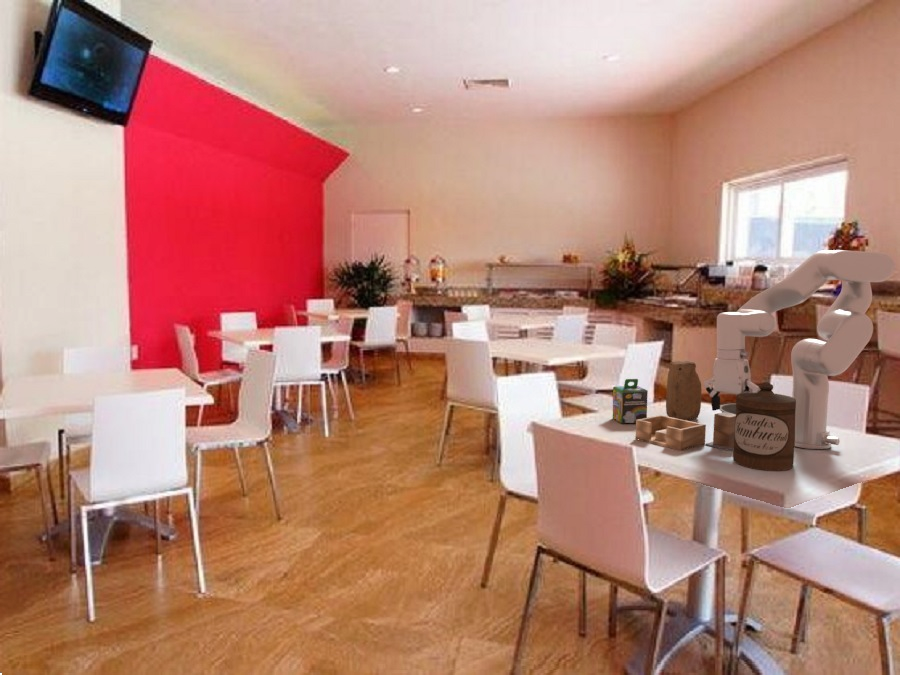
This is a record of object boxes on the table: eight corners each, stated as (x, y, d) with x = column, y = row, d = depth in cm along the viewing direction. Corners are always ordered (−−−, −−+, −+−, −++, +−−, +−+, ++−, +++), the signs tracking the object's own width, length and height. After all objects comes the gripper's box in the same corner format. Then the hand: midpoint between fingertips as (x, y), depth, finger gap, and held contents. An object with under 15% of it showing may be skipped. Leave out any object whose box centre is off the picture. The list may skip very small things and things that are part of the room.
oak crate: (704, 444, 203) (705, 424, 202) (680, 450, 196) (681, 430, 195) (659, 433, 216) (660, 415, 215) (635, 439, 209) (636, 419, 208)
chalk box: (636, 417, 239) (638, 376, 237) (647, 423, 230) (649, 380, 228) (611, 418, 238) (612, 376, 236) (621, 424, 229) (622, 380, 227)
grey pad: (745, 446, 201) (745, 445, 201) (730, 450, 196) (730, 449, 196) (720, 441, 207) (720, 439, 207) (705, 445, 202) (705, 443, 202)
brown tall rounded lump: (672, 420, 234) (674, 363, 232) (663, 416, 242) (665, 360, 240) (702, 420, 235) (705, 363, 233) (693, 415, 243) (695, 360, 241)
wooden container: (726, 464, 183) (730, 383, 180) (741, 452, 194) (745, 376, 192) (786, 474, 174) (791, 389, 171) (798, 462, 185) (803, 382, 183)
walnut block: (738, 445, 201) (739, 415, 200) (728, 447, 198) (730, 417, 197) (722, 441, 205) (723, 412, 204) (713, 444, 202) (714, 414, 201)
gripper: (766, 355, 194) (766, 414, 196) (711, 351, 208) (711, 406, 210) (751, 358, 190) (751, 419, 191) (697, 353, 204) (697, 410, 205)
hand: (730, 412), depth 201 cm, fingers open, 9 cm apart
